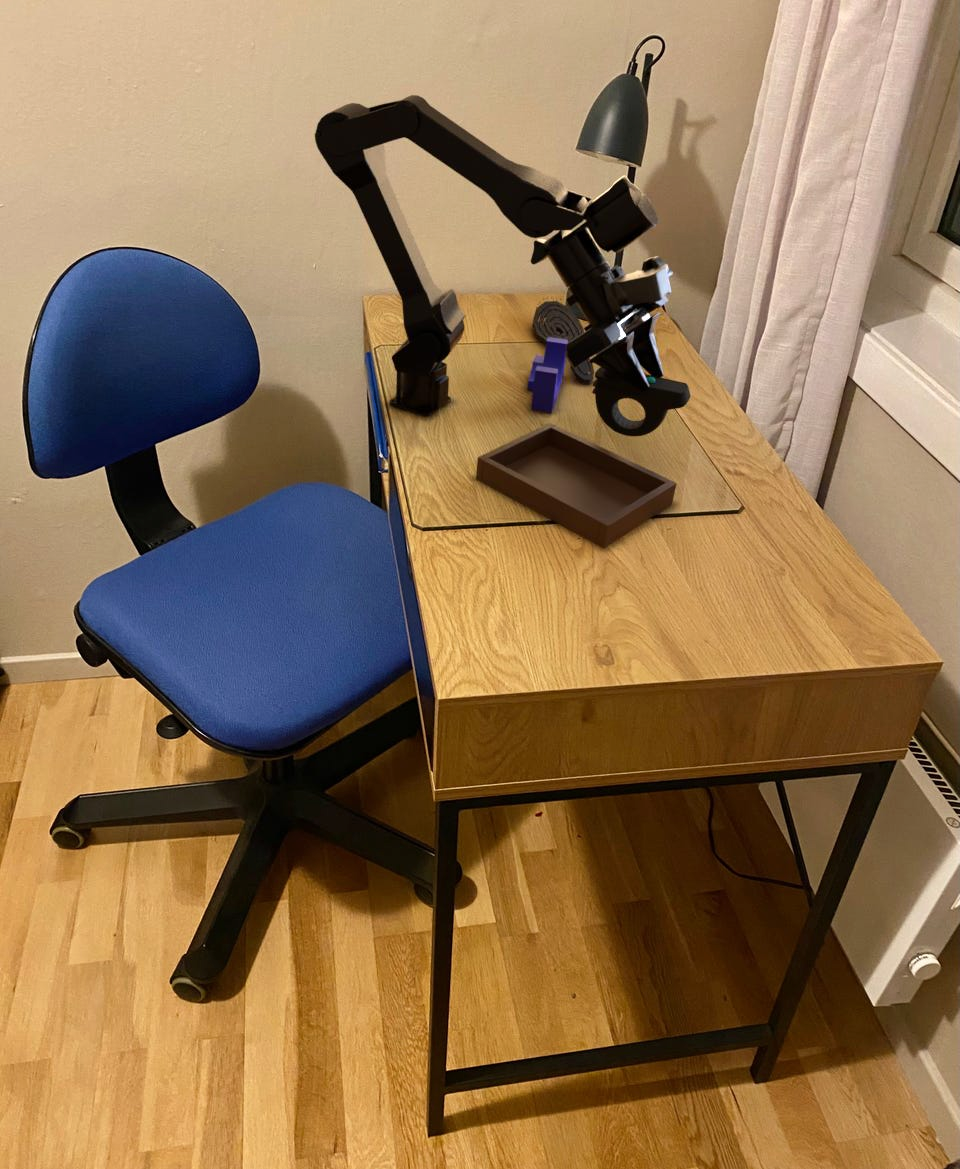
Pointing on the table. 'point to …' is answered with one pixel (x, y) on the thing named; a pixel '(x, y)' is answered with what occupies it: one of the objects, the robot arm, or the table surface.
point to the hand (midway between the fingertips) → (653, 383)
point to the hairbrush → (561, 332)
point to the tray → (576, 483)
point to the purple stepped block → (547, 375)
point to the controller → (653, 401)
